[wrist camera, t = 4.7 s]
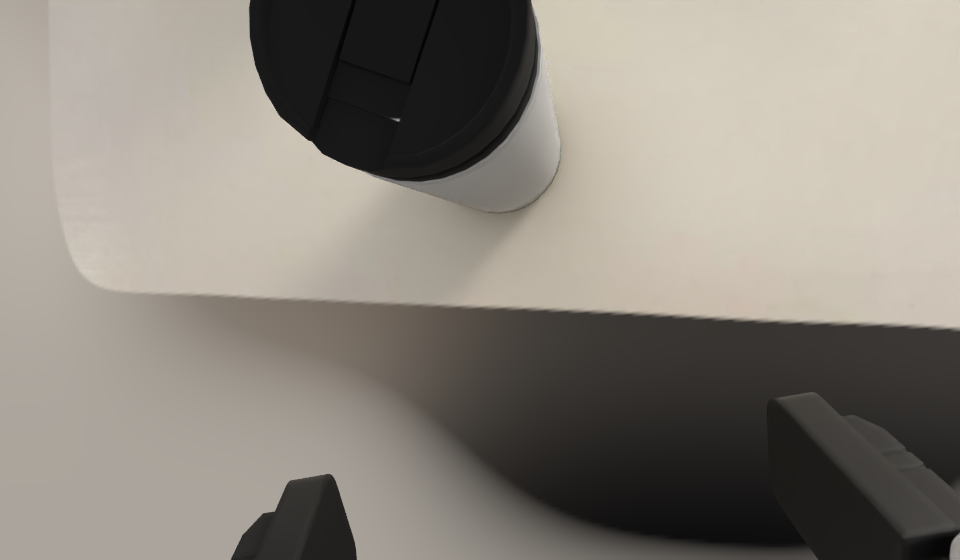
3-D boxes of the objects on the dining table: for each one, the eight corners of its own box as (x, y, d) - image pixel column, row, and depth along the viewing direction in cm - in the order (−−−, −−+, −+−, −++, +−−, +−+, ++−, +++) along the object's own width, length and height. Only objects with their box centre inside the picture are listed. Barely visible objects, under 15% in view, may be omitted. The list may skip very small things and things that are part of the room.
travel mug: (582, 106, 31) (585, -122, 12) (535, 230, 32) (464, 213, 12) (466, 66, 32) (287, -209, 13) (423, 189, 33) (189, 111, 13)
